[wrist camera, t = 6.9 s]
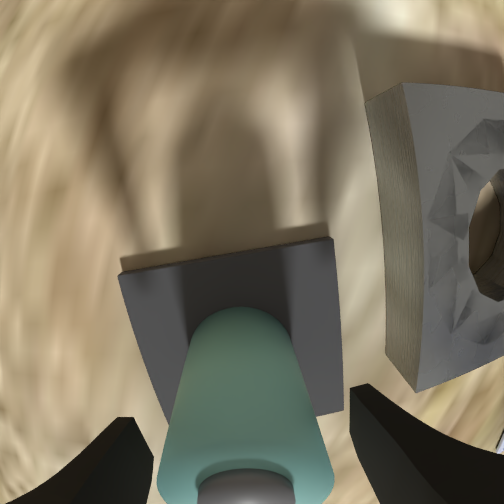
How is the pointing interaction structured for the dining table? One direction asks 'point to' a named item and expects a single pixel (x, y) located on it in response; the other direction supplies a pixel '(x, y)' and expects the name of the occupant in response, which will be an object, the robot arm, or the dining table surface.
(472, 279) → the housing
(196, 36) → the dining table surface
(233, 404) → the teal and grey cylinder
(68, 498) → the robot arm
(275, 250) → the mat
